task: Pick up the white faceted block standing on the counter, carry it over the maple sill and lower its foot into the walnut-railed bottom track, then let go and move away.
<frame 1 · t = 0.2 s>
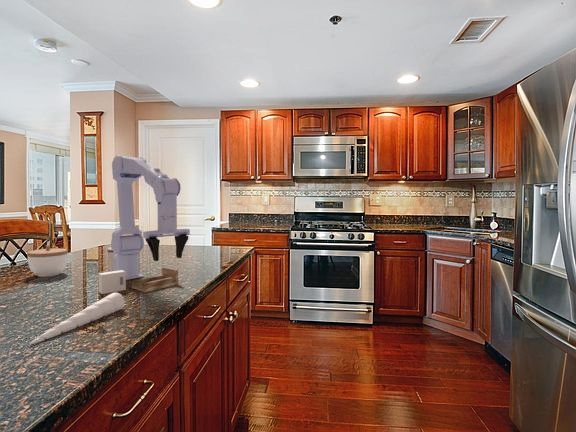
hand: (167, 259, 108), 10 cm above the worktop, tool pointing down, fingers open, 7 cm apart
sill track: (155, 286, 113), on the worktop
unicorn horn: (84, 325, 80), on the worktop
lidded bowl: (48, 275, 129), on the worktop
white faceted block: (112, 291, 107), on the worktop
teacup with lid: (121, 270, 138), on the worktop
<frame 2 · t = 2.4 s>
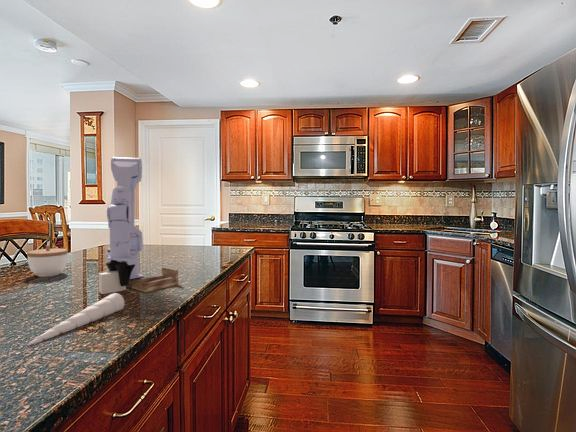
hand: (121, 284, 109), 2 cm above the worktop, tool pointing down, fingers closed on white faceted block, 4 cm apart
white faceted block: (112, 291, 107), on the worktop, touching gripper
everything else where it was.
when the fingers open (8 cm above the worktop, at t = 4.4 s): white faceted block stays where it is, resting on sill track.
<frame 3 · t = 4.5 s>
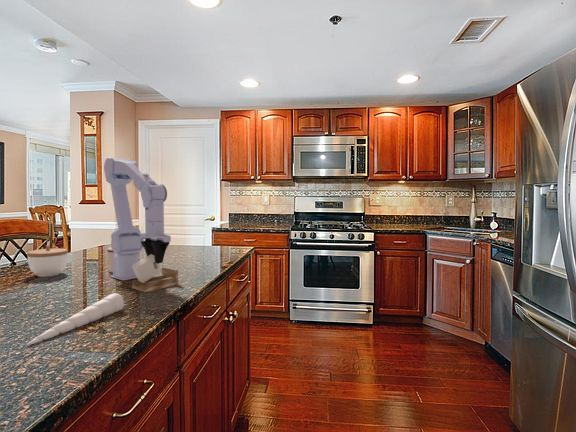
hand: (155, 262, 112), 8 cm above the worktop, tool pointing down, fingers open, 4 cm apart
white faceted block: (150, 275, 112), point 4 cm above the worktop, tilted 26°, touching gripper, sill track
everything else where it was.
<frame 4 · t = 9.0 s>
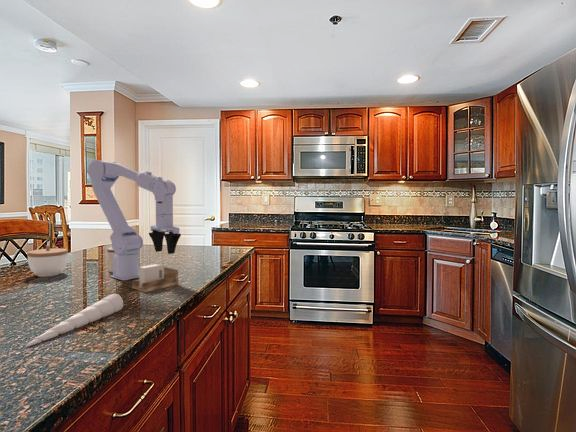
hand: (164, 252, 121), 10 cm above the worktop, tool pointing down, fingers open, 7 cm apart
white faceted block: (151, 283, 112), point 1 cm above the worktop, touching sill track
everything else where it was.
at the end: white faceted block inside the target area (1.2 cm from its centre), point 1.0 cm above the worktop; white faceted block tilted 0°; the gripper is holding nothing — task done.
